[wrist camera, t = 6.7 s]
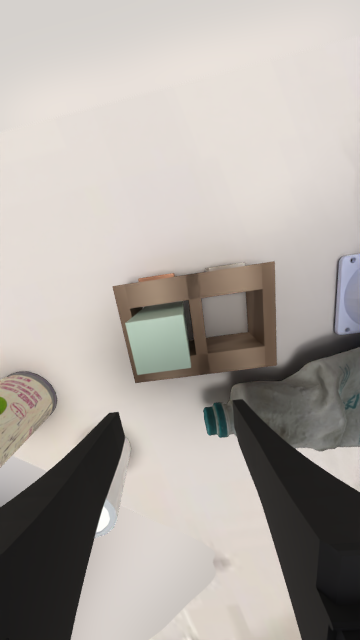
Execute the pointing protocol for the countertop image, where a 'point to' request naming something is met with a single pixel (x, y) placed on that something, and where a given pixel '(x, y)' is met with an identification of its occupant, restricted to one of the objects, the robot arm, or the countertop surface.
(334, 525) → the robot arm
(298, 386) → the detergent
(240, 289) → the socket block
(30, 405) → the aerosol can
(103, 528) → the white cup
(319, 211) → the countertop surface
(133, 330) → the plug
